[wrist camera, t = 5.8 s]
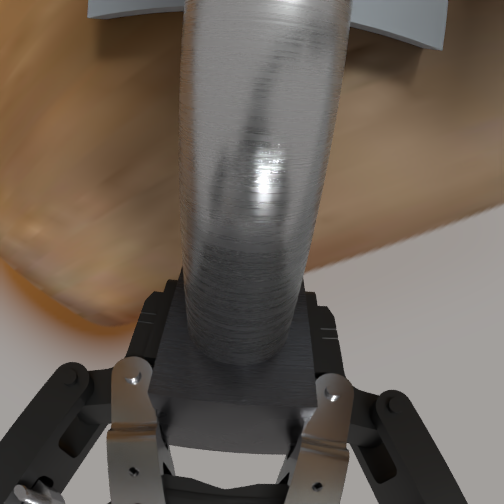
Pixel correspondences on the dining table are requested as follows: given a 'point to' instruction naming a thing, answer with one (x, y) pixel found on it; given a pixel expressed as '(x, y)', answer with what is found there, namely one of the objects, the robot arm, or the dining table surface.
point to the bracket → (362, 17)
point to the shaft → (248, 220)
